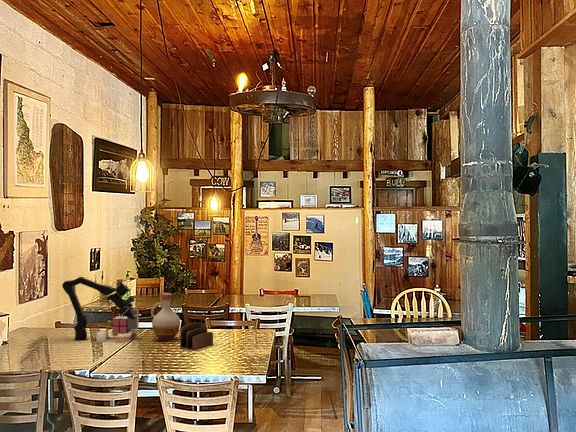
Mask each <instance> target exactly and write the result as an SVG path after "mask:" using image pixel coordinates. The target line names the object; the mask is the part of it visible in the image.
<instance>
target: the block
mask: <svg viewBox="0 0 576 432" xmlns="http://www.w3.org/2000/svg"><path fill="white" fill-rule="evenodd" d="M137 334H138V333H134V332H132V333H130V340H136V339H137V338H138V337H137V336H138V335H137Z"/></svg>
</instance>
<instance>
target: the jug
mask: <svg viewBox="0 0 576 432" xmlns="http://www.w3.org/2000/svg"><path fill="white" fill-rule="evenodd" d="M160 294H161V298H160V299H161V302H157V303H155V304H154V305H153V307H152V308H151V311H150V316H151V317H152V320H151V326H152V330H153V332H154V334H155V336H156V338H157V339H158V340H159V341H161V342H171V341H173V340H174V338H175V337H176V336H177V334H178V332H179V331H180V328H181V319H180V316H178V314H177V313H175V311H173V309H172V308H171V302H172V301H171V300H172V296H173V295H172V293H170V292H162V293H160ZM158 306H161V309H160V311H159V312H157V314H156V315H155V314H154V312H155V309H156V307H158Z"/></svg>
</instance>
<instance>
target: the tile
mask: <svg viewBox="0 0 576 432" xmlns="http://www.w3.org/2000/svg"><path fill="white" fill-rule="evenodd" d="M113 341H114V342H115V343H117V344H121V343H128V342H130V341H131V339H129V338H127V337H122V338H113Z"/></svg>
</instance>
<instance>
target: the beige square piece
mask: <svg viewBox="0 0 576 432" xmlns="http://www.w3.org/2000/svg"><path fill="white" fill-rule="evenodd" d="M97 331H98V330H97ZM106 337H107V332H106V330H99V331H98V332H97V333H96V342H97V343H105V342H107V339H106Z"/></svg>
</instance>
